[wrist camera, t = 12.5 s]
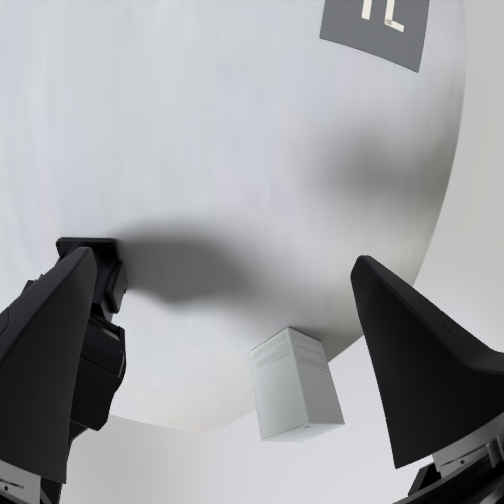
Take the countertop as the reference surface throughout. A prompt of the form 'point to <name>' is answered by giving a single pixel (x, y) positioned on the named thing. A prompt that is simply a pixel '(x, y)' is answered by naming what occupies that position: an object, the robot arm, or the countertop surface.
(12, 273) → the countertop surface
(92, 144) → the countertop surface
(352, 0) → the gray mat
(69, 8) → the countertop surface
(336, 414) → the supplement box
